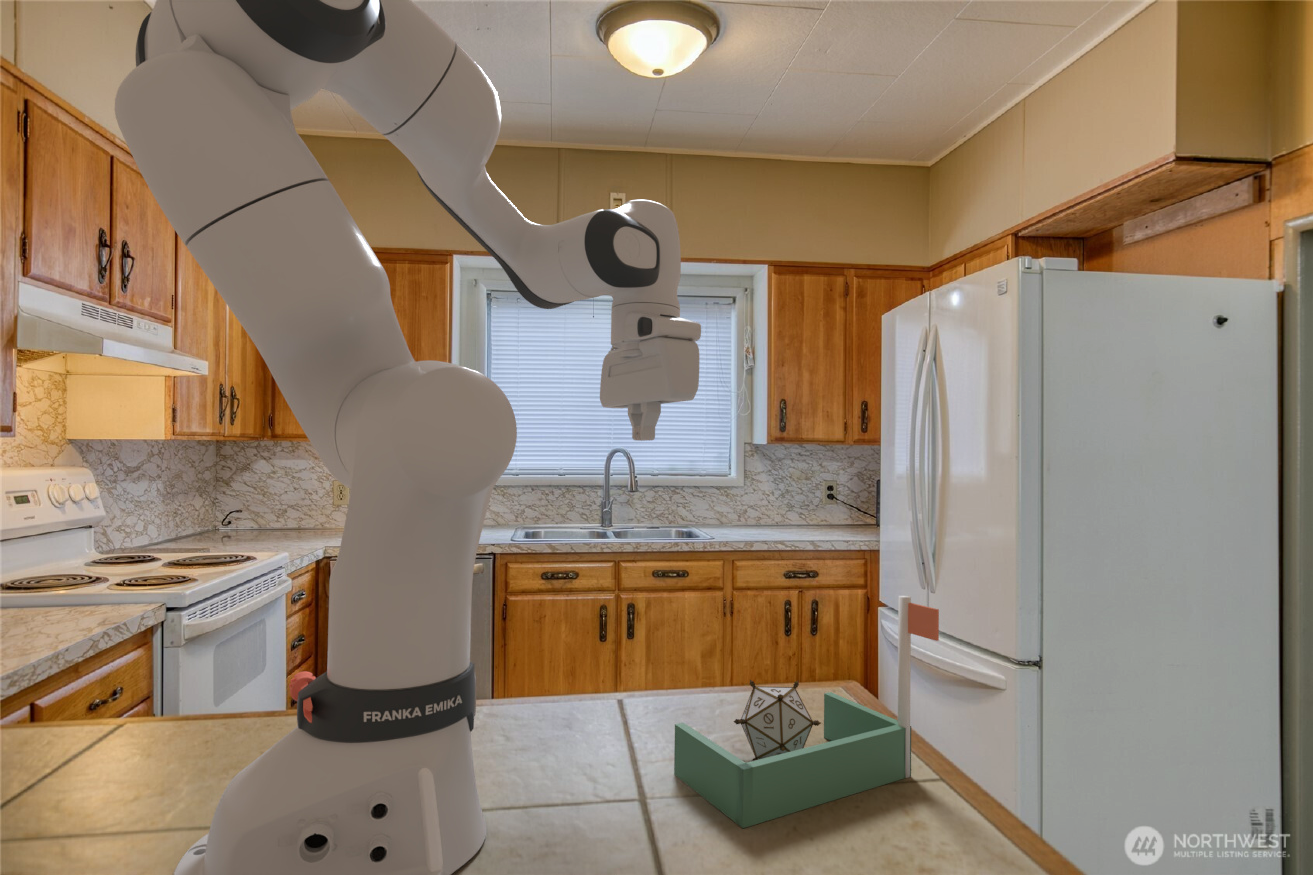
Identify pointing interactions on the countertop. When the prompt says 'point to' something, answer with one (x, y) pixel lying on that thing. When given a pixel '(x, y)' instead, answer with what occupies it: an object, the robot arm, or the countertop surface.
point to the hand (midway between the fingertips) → (643, 440)
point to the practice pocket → (813, 749)
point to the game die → (775, 721)
